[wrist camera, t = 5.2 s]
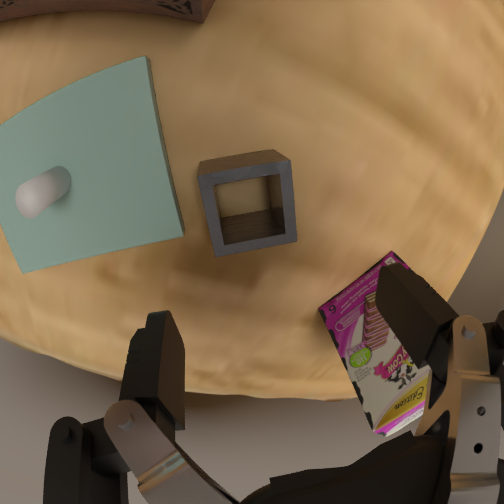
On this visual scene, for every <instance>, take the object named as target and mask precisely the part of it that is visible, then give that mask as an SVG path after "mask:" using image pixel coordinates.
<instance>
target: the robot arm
mask: <svg viewBox="0 0 504 504" xmlns="http://www.w3.org/2000/svg"><path fill="white" fill-rule="evenodd" d="M375 303H376V307H377V310H378V311H379V313H380V314H381V316H382V317H383V318H384V320H385V321H386V323H387V324H388V326H389V327H390V328H391V330H392V331H393V333H394V334H395V336H396V337H397V338H398V340H399V341H400V343H401V344H402V346H403V347H404V349H405V350H406V352H407V353H408V355H409V356H410V358H411V359H412V361H413V362H414V364H415V365H416V367H417V368H418V370H419V369H421V368H423V367H425V366H427V365H429V367H430V368H431V369H430V371H429V374H428V382H427V390H426V398H425V405H424V411H423V415H422V418H421V421H420V422H419V424H418V427H417V429H416V432H415V436H413V434H412V432H411V430H410V431H408V432H406V433H404V434H402V435H400V436H398V437H396V438H394V439H392V440H389V441H387V442H385V443H383V444H381V445H379V446H378V447H376V448H375V449H373V450H372V451H371V452H369V453H368V454H366V455H365V456H363V457H362V458H360V459H359V460H357V461H356V462H354V463H353V464H351V465H349V466H345V467H337V468H325V469H310V470H309V469H308V470H304V471H300V472H296V473H291V474H287V475H282V476H277V477H272V478H270V484H268V485H266V486H263V487H262V488H260V489H258V490H256V491H254V492H253V493H251V494H250V495H248V496H247V497H246V498H245V499H244V500H242V501H241V502H239V501H238V500H237V499H236V498H235V497H233V496H232V495H231V494H230V493H228V492H227V491H226V490H225V489H224V488H223V487H221V486H220V485H219V484H218V483H217V482H216V481H214V480H213V479H212V478H211V477H209V475H208V474H207V473H205V472H204V471H203V470H202V469H201V468H200V467H199V466H198V465H197V464H196V463H195V462H194V461H193V460H192V459H191V458H190V457H189V456H188V454H187V453H186V452H185V451H184V450H183V449H182V448H181V447H180V446H179V445H178V444H177V443H176V442H175V430H185V408H184V407H185V398H184V397H185V394H184V393H185V348H184V343H183V340H182V337H181V335H180V333H179V331H178V328H177V326H176V324H175V321H174V319H173V317H172V314H171V312H170V311H169V310H166V311H160V312H153V313H149V314H148V316H147V321H146V326H145V328H141V329H138V330H137V331H136V333H135V334H134V336H133V337H132V339H131V341H130V345H129V350H128V352H129V354H128V355H127V359H126V362H127V363H126V364H125V369H124V375H123V380H122V385H121V391H120V397H119V401H118V402H116V403H114V404H113V405H112V406H111V407H110V408H109V409H108V410H107V412H106V414H105V416H104V418H101V419H97V420H94V421H91V422H87V423H83V424H81V423H80V422H79V421H77V420H76V419H75V418H73V417H63V418H60V419H59V420H57V421H56V422H55V423H54V425H53V427H52V429H51V432H50V437H49V444H48V451H47V458H46V467H45V477H44V491H43V492H44V494H43V504H129V503H128V483H127V472H129V471H132V472H133V474H134V475H135V477H136V478H137V479H138V482H139V484H138V489H139V491H140V493H141V494H142V496H143V497H144V498H145V500H146V501H147V502H148V503H149V504H504V460H503V459H500V458H498V456H499V446H500V431H501V426H502V428H503V430H504V365H503V362H504V310H503V311H501V312H500V313H499V314H498V316H497V318H496V320H495V322H491V323H485V324H481V323H480V321H479V320H477V319H476V318H474V317H471V316H466V315H465V316H459V315H458V314H457V313H456V312H455V311H454V310H453V309H452V308H451V306H450V305H449V304H448V303H447V302H446V301H445V300H444V299H443V298H442V297H441V296H440V295H439V294H438V293H436V291H435V290H434V289H433V288H432V287H430V285H429V284H428V283H427V282H426V281H425V280H424V279H423V278H422V277H421V276H419V275H417V274H415V273H413V272H412V271H411V272H409V271H408V270H407V269H406V268H405V267H404V266H403V265H402V264H401V263H400V262H396V263H392V264H388V265H384V266H382V267H381V268H380V270H379V277H378V283H377V289H376V295H375Z"/></svg>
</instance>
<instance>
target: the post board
mask: <svg viewBox="0 0 504 504" xmlns="http://www.w3.org/2000/svg"><path fill="white" fill-rule="evenodd" d="M0 224H1V226H2V229H3V232H4V234H5V236H6V239H7V241H8V243H9V246H10V248H11V250H12V252H13V255H14V257H15V259H16V261H17V263H18V265H19V267H20V269H21V271H22V273H23V274H24V273H28V272H32V271H35V270H39V269H43V268H47V267H51V266H55V265H59V264H63V263H67V262H71V261H75V260H79V259H84V258H88V257H92V256H96V255H101V254H105V253H109V252H114V251H118V250H122V249H127V248H131V247H136V246H140V245H145V244H150V243H154V242H159V241H164V240H168V239H173V238H178V237H183V236H184V231H185V228H184V224H183V220H182V216H181V212H180V208H179V204H178V200H177V196H176V192H175V188H174V184H173V180H172V175H171V171H170V166H169V162H168V157H167V153H166V148H165V143H164V139H163V134H162V129H161V124H160V119H159V113H158V108H157V102H156V97H155V91H154V85H153V79H152V73H151V66H150V60H149V58H148V57H146V56H142V57H138V58H135V59H132V60H129V61H126V62H123V63H120V64H117V65H115V66H112V67H109V68H106V69H104V70H101V71H99V72H96V73H94V74H92V75H89V76H87V77H85V78H82V79H80V80H78V81H76V82H73V83H71V84H69V85H67V86H65V87H63V88H61V89H59V90H57V91H55V92H53V93H51V94H50V95H48V96H46V97H44V98H42V99H41V100H39V101H37V102H35V103H34V104H32V105H30V106H29V107H27V108H25V109H24V110H22V111H21V112H19V113H17V114H16V115H14V116H13V117H11V118H10V119H8V120H7V121H5V122H4V123H3V124H1V125H0Z"/></svg>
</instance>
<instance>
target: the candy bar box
mask: <svg viewBox="0 0 504 504" xmlns="http://www.w3.org/2000/svg"><path fill="white" fill-rule="evenodd" d="M396 262H400V263H401V264H402V265H403V266H404V267H405V268H406V269H407V270H408V271H409V272H411V271H412V270H411V268H410V267H409V266H408V265H407V264H406V263H405V262H404V261H403V260H402V259H401V258H400V257H399V256H398V255H397V254H395V253H394V252H393V251H392V252H390V253H389V254H388V255H387V256H386V257H385V258H383V259H382V260H381V261H380V262H379V263H377V264H376V265H375V266H374V267H373V268H371V269H370V270H369V271H368V272H366V273H365V274H364V275H363V276H361V277H360V278H359V279H357V280H356V281H355V282H354V283H352V284H351V285H350V286H348V287H347V288H346V289H344V290H343V291H342V292H340V293H339V294H338V295H336V296H335V297H334V298H332V299H331V300H330V301H328V302H327V303H325V304H324V305H323V306H321V307H320V308H319V312H320V314H321V316H322V318H323V320H324V322H325V325H326V327H327V329H328V331H329V333H330V335H331V338H332V340H333V342H334V344H335V346H336V348H337V351H338V353H339V355H340V357H341V360H342V362H343V364H344V366H345V368H346V370H347V373H348V375H349V378H350V380H351V382H352V384H353V386H354V389H355V391H356V393H357V396H358V398H359V400H360V402H361V404H362V407H363V410H364V412H365V414H366V417H367V420H368V422H369V424H370V427H371V429H372V431H373V432H375V433H377V434H382V435H383V436H389V435H391V434H393V433H394V432H396V431H398V430H400V429H401V428H403V427H404V426H406V425H408V424H409V423H411V422H413V421H414V420H416V419H417V418H419V417H420V416H422V415H423V411H424V405H425V398H426V390H427V382H428V374H429V371H430V369H431V368H430V367H429V365H427V366H425V367H423V368H421V369H419V370H418V368H417V367H416V365H415V364H414V362H413V361H412V359H411V358H410V356H409V355H408V353H407V352H406V350H405V349H404V347H403V346H402V344H401V343H400V341H399V340H398V338H397V337H396V336H395V334H394V333H393V331H392V330H391V328H390V327H389V326H388V324H387V323H386V321H385V320H384V318H383V317H382V316H381V314H380V313H379V311H378V310H377V307H376V303H375V295H376V289H377V283H378V277H379V270H380V268H381V267H382V266H384V265H388V264H392V263H396ZM412 272H413V273H415V272H414V271H412ZM415 274H416V273H415Z"/></svg>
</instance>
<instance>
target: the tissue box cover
mask: <svg viewBox="0 0 504 504" xmlns="http://www.w3.org/2000/svg"><path fill="white" fill-rule="evenodd" d="M214 1H215V0H0V22H1V21H6V20H10V19H15V18H20V17H25V16H31V15H38V14H46V13H55V12H68V11H122V12H135V13H145V14H153V15H160V16H167V17H173V18H179V19H184V20H189V21H194V22H198V23H204V21H205V19H206V17H207V15H208V13H209V11H210V9H211V7H212V5H213V3H214Z"/></svg>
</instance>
